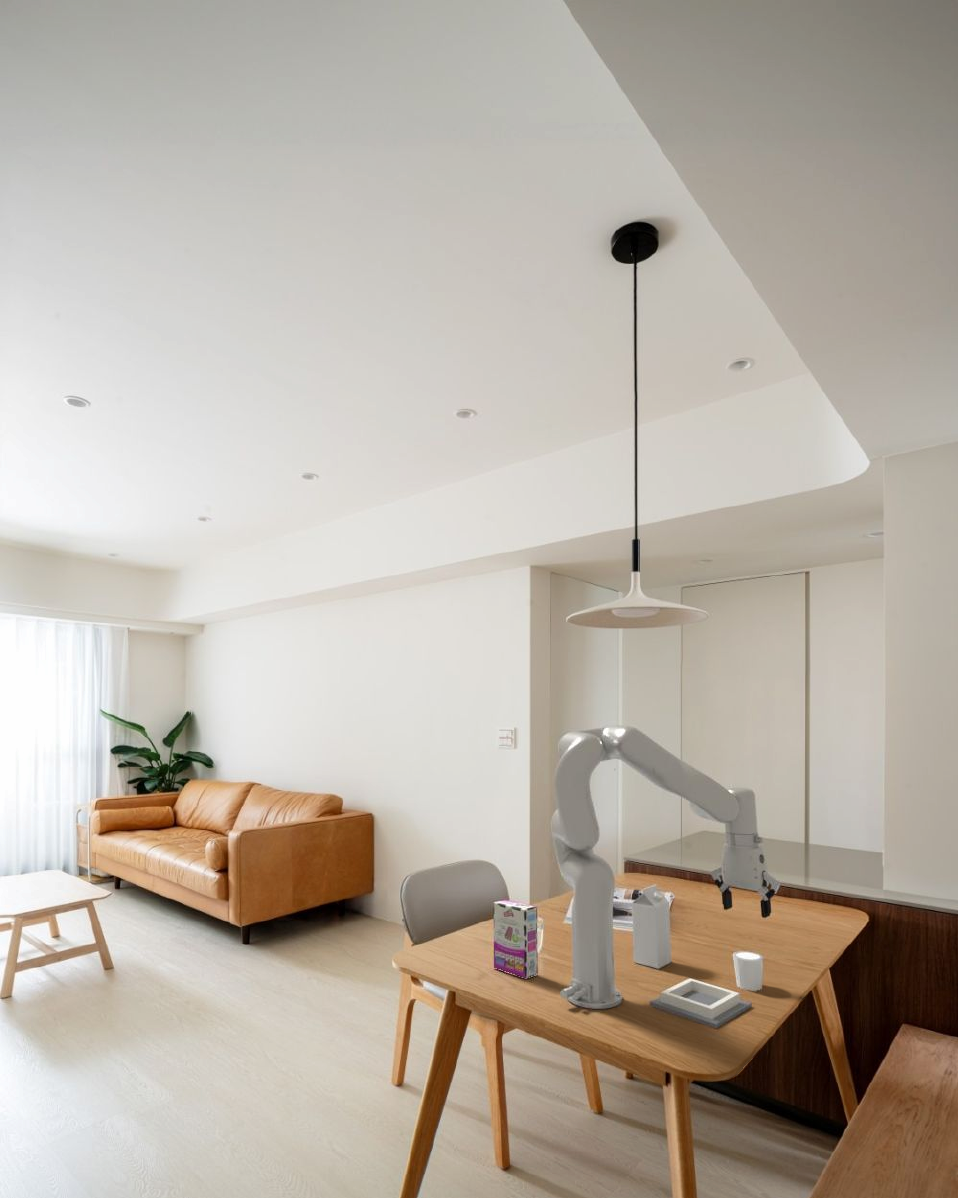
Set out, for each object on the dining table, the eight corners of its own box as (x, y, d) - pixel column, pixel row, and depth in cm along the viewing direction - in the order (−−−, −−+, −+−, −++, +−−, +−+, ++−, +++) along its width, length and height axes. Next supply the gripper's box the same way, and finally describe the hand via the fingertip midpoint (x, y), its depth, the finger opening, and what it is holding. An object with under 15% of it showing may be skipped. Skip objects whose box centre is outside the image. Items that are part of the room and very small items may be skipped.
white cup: (740, 979, 176) (738, 948, 178) (768, 985, 172) (766, 954, 173) (729, 987, 171) (728, 956, 172) (759, 994, 167) (757, 962, 168)
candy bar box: (539, 975, 179) (538, 906, 181) (526, 980, 175) (525, 910, 178) (505, 964, 187) (505, 898, 189) (492, 969, 183) (492, 901, 186)
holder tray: (715, 1028, 149) (715, 1014, 149) (649, 1005, 161) (649, 992, 161) (751, 1006, 160) (751, 993, 160) (687, 986, 171) (687, 974, 172)
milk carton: (633, 963, 187) (631, 887, 190) (647, 956, 193) (645, 882, 195) (658, 969, 183) (655, 891, 186) (671, 962, 188) (668, 886, 191)
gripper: (783, 842, 173) (788, 916, 171) (717, 833, 186) (721, 903, 183) (769, 846, 168) (774, 923, 165) (702, 837, 180) (706, 909, 178)
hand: (746, 912), depth 174 cm, fingers open, 9 cm apart
